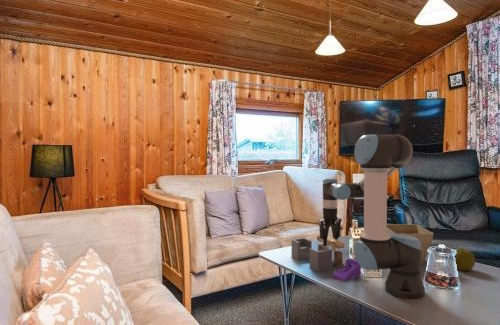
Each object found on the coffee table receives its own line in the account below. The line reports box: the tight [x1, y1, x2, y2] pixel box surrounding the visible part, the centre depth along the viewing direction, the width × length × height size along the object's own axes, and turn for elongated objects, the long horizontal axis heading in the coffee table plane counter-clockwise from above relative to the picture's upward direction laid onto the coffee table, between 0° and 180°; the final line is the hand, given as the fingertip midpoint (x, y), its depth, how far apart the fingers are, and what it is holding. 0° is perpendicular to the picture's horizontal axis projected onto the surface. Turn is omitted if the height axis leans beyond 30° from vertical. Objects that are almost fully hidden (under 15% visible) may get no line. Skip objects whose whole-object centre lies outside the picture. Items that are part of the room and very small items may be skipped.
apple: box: [455, 248, 476, 272], centre depth 165 cm, size 10×10×11 cm
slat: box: [316, 234, 345, 249], centre depth 180 cm, size 18×4×2 cm, turn 24°
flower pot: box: [387, 223, 434, 265], centre depth 178 cm, size 19×19×17 cm
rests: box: [317, 243, 344, 266], centre depth 181 cm, size 17×3×6 cm, turn 24°
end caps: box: [291, 237, 333, 273], centre depth 176 cm, size 24×8×10 cm, turn 24°
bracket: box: [331, 257, 362, 282], centre depth 158 cm, size 12×7×7 cm, turn 128°
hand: (330, 251), depth 181 cm, fingers closed on slat, 4 cm apart
